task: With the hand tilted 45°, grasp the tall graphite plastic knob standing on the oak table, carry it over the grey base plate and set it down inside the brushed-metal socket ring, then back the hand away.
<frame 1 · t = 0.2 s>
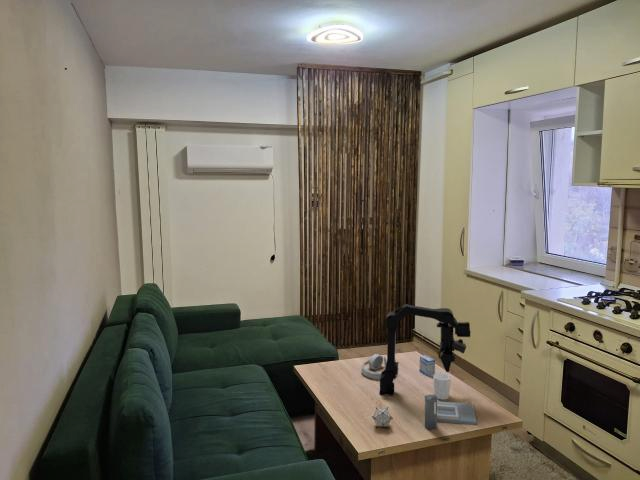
hand: (447, 368, 221), 15 cm above the table, tool pointing down, fingers open, 9 cm apart
knob: (430, 426, 197), on the table
game die: (382, 426, 198), on the table
white cup: (441, 396, 224), on the table
grey base plate: (446, 416, 205), on the table
headphones: (379, 373, 252), on the table
medicine box: (427, 373, 250), on the table
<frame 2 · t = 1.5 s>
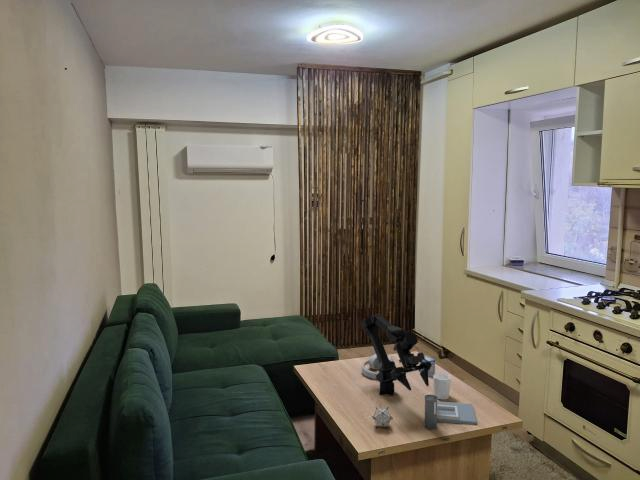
hand: (419, 388, 203), 13 cm above the table, tool tilted 45°, fingers open, 9 cm apart
nothing on the table moved.
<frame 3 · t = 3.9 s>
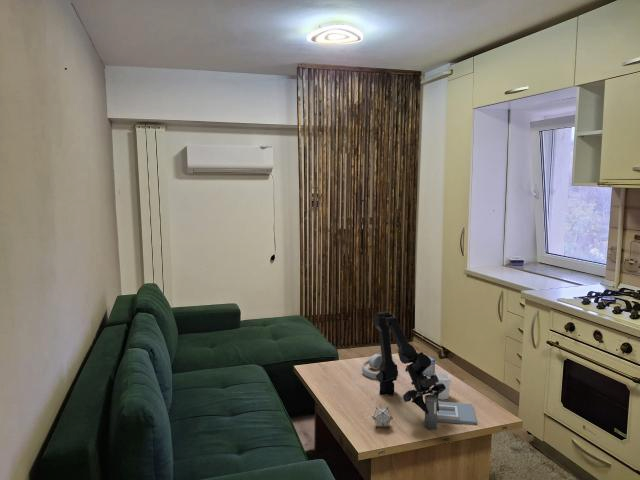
hand: (433, 412, 195), 7 cm above the table, tool tilted 45°, fingers closed on knob, 5 cm apart
knob: (430, 426, 197), on the table, touching gripper
everything else where it was.
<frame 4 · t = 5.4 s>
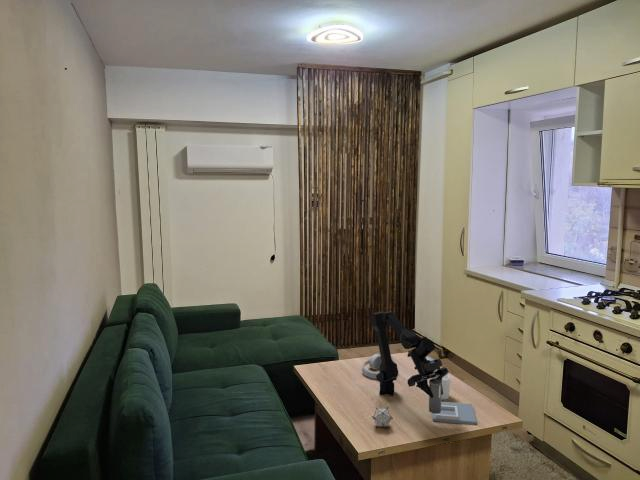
hand: (437, 396, 195), 13 cm above the table, tool tilted 45°, fingers closed on knob, 5 cm apart
knob: (434, 410, 198), point 6 cm above the table, touching gripper
everything else where it was.
when the fingers open (9 cm above the table, at t = 7.2 s): knob drops 1 cm, resting on grey base plate.
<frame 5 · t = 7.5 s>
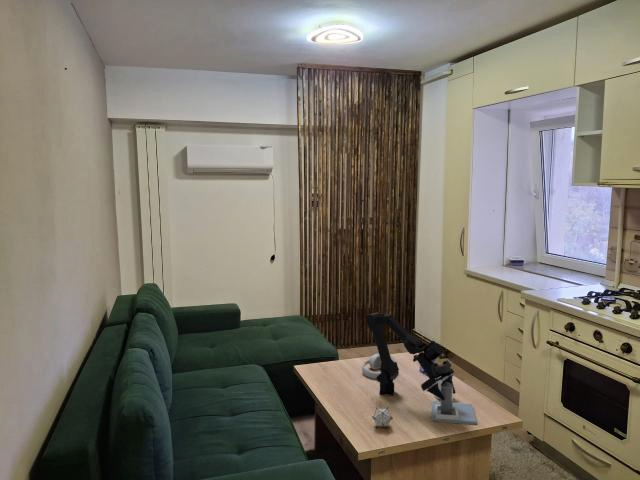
hand: (449, 396, 203), 10 cm above the table, tool tilted 45°, fingers open, 8 cm apart
knob: (446, 413, 205), point 1 cm above the table, touching grey base plate
everything else where it was.
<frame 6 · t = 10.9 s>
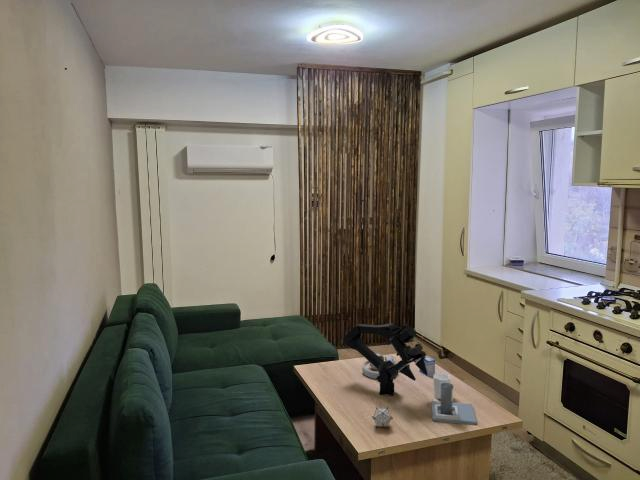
hand: (421, 377, 213), 14 cm above the table, tool tilted 45°, fingers open, 9 cm apart
nothing on the table moved.
at the end: knob 0.1 cm off-centre on the grey base plate, point 1.2 cm above the grey base plate's base; knob tilted 0°; the gripper is holding nothing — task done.
